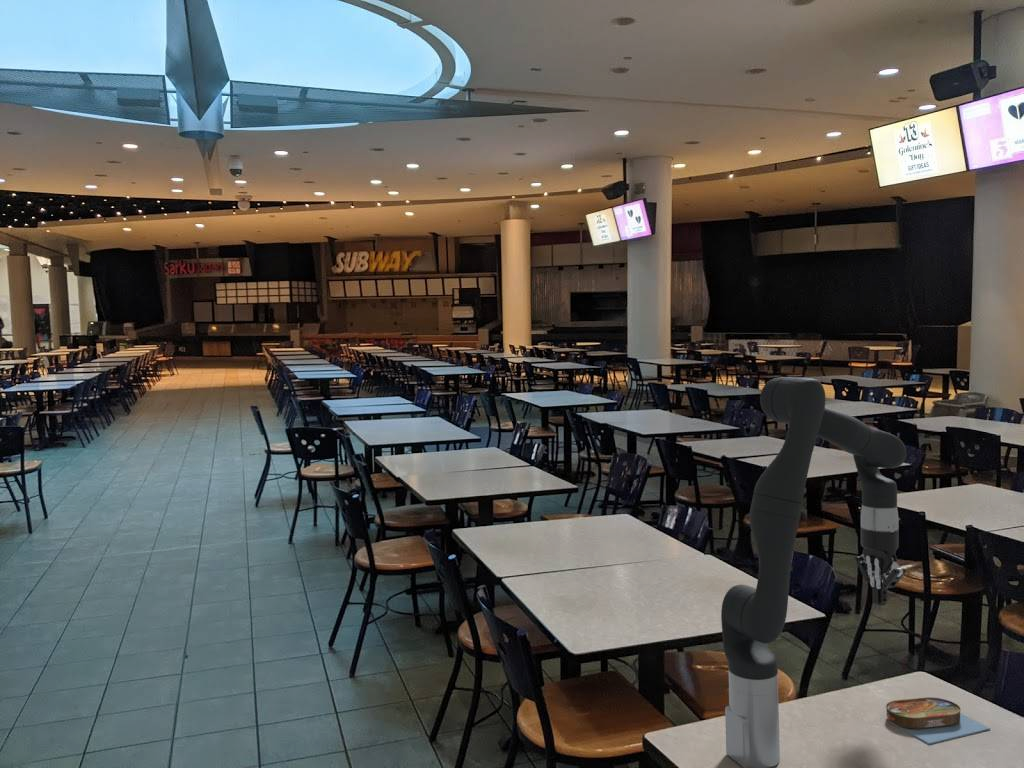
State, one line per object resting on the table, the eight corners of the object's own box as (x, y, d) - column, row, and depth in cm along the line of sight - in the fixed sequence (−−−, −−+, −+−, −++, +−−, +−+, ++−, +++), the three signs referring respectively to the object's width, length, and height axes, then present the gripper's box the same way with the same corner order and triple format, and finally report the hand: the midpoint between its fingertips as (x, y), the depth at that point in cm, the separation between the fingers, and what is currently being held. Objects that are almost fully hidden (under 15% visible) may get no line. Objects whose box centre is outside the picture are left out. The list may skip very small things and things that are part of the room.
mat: (929, 744, 157) (929, 743, 157) (890, 722, 166) (890, 721, 166) (990, 729, 162) (990, 728, 162) (949, 709, 171) (949, 707, 171)
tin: (943, 695, 171) (969, 710, 163) (944, 710, 171) (970, 725, 163) (877, 701, 170) (900, 716, 162) (878, 716, 170) (901, 731, 162)
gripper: (844, 521, 178) (844, 597, 179) (888, 533, 166) (888, 615, 166) (871, 518, 181) (871, 594, 181) (916, 530, 168) (917, 611, 169)
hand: (879, 604), depth 174 cm, fingers closed
